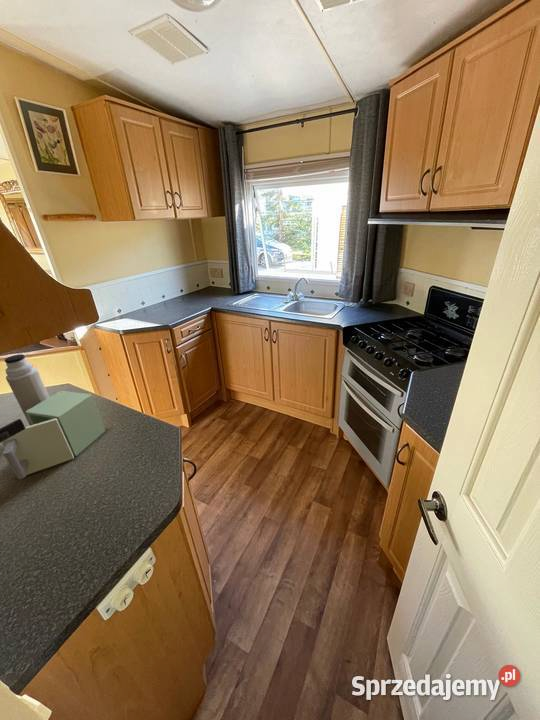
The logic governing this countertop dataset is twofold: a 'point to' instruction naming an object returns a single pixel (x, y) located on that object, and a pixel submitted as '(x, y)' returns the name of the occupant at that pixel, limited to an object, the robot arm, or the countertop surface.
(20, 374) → the thermos bottle
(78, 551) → the countertop surface
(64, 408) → the box
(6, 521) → the countertop surface
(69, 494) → the countertop surface
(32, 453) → the machine door
